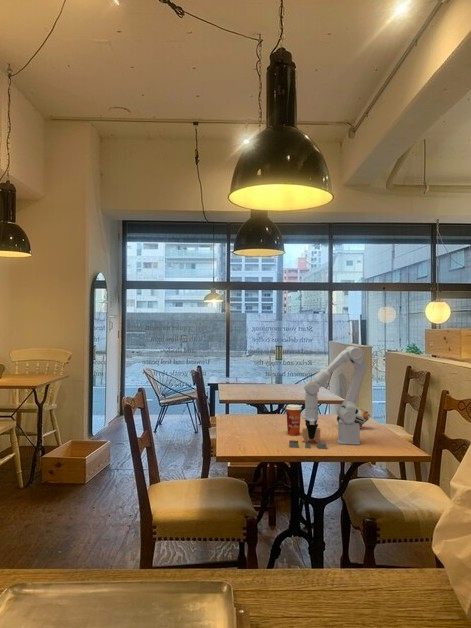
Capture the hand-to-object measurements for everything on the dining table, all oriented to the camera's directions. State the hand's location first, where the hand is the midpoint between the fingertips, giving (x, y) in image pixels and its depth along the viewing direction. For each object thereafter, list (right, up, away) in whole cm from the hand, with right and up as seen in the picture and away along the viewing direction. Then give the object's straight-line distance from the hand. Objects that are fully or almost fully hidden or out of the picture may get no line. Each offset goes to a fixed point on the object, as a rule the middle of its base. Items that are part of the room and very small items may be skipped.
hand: (311, 437), depth 198 cm
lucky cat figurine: (+28, -4, +30) cm, 41 cm away
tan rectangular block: (0, -2, 0) cm, 2 cm away
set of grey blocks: (-3, -2, -9) cm, 9 cm away
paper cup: (-6, -3, +14) cm, 15 cm away
